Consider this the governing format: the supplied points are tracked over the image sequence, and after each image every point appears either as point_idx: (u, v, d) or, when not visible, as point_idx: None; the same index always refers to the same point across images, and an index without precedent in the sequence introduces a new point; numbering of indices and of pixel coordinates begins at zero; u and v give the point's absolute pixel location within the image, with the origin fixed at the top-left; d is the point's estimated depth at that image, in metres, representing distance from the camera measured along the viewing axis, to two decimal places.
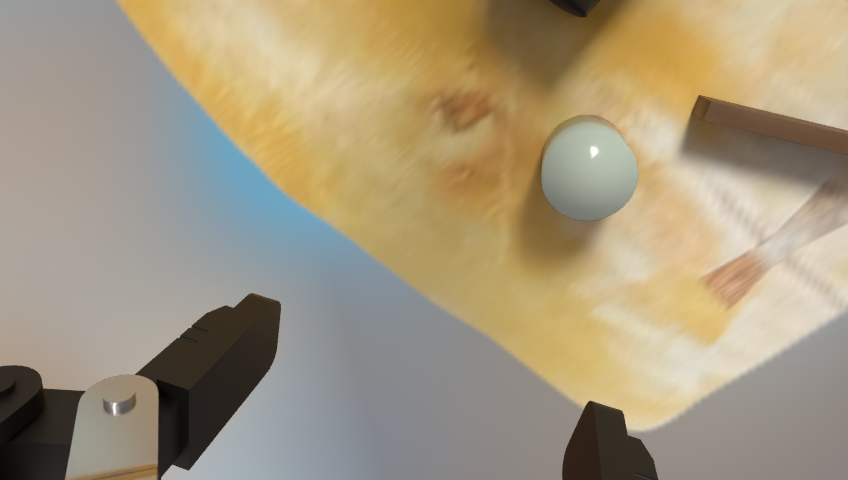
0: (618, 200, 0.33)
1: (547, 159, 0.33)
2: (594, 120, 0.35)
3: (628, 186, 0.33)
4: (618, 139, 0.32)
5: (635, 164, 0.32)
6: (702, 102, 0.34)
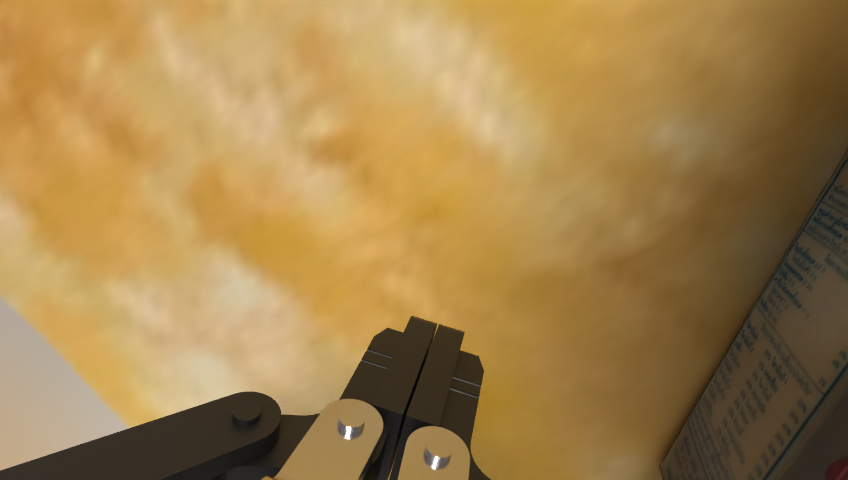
0: None
1: None
2: None
3: None
4: None
5: None
6: None
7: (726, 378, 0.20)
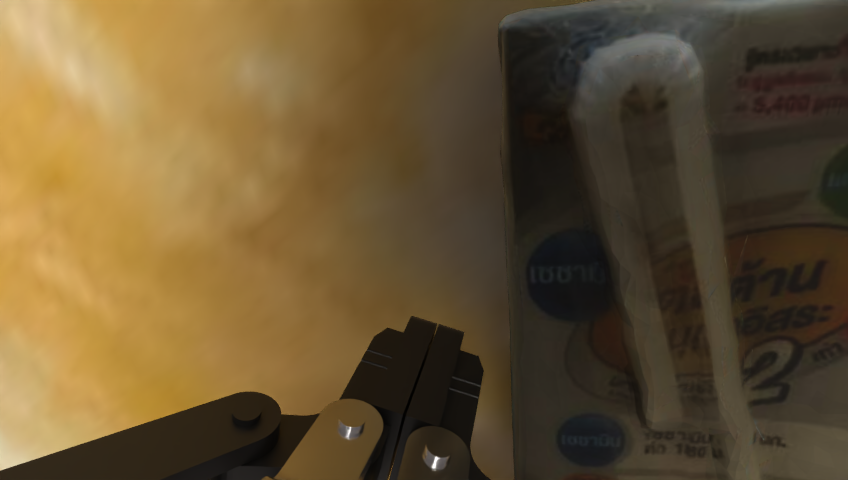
0: None
1: None
2: None
3: None
4: None
5: None
6: None
7: None
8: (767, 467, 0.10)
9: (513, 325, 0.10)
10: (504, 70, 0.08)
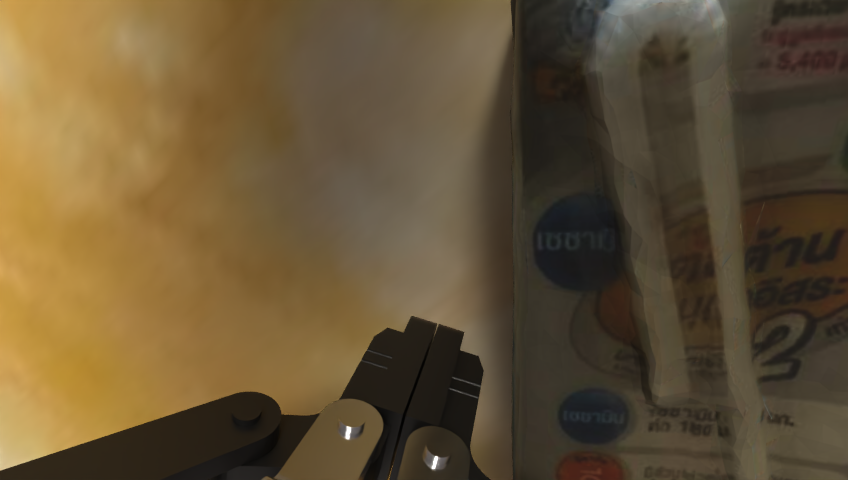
0: None
1: None
2: None
3: None
4: None
5: None
6: None
7: None
8: (774, 447, 0.10)
9: (517, 295, 0.10)
10: (517, 22, 0.08)
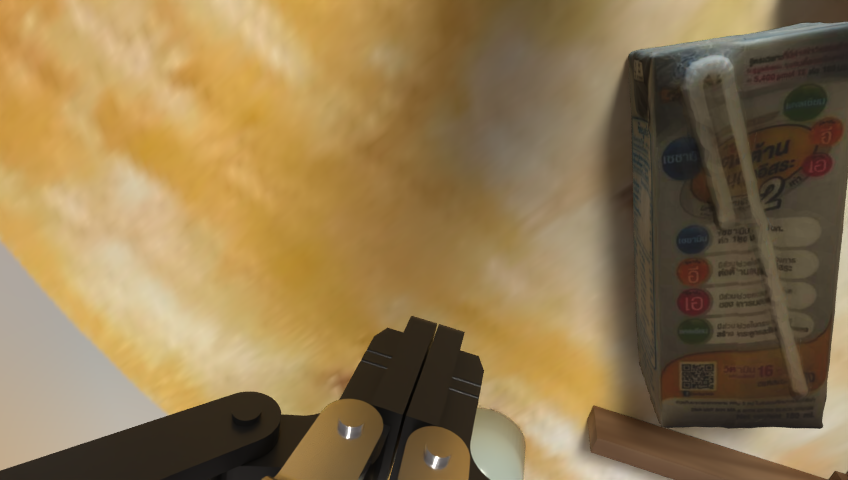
0: None
1: None
2: (485, 430, 0.34)
3: None
4: None
5: None
6: (593, 424, 0.33)
7: (636, 279, 0.29)
8: (776, 242, 0.22)
9: (654, 186, 0.22)
10: (652, 73, 0.21)
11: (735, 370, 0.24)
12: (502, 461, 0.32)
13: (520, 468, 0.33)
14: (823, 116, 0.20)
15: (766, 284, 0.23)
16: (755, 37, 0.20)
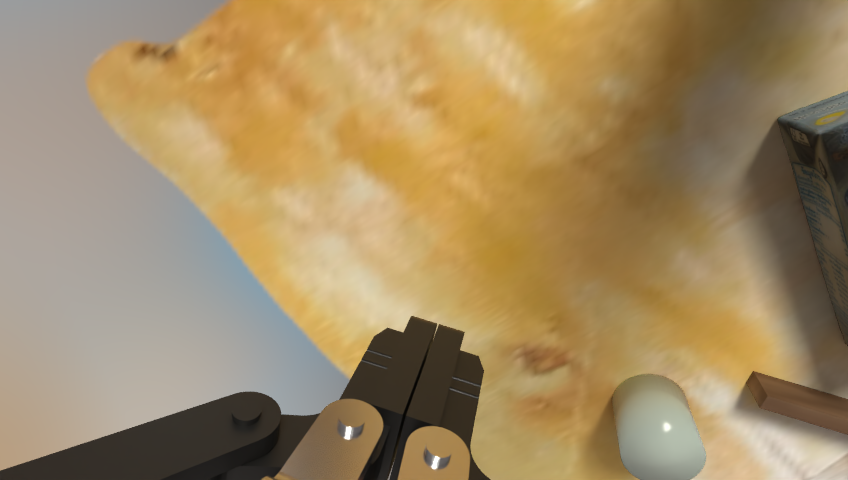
0: (687, 474, 0.39)
1: (627, 439, 0.39)
2: (663, 391, 0.41)
3: (696, 465, 0.38)
4: (690, 433, 0.37)
5: (703, 451, 0.38)
6: (758, 386, 0.40)
7: (829, 280, 0.36)
8: None
9: (843, 218, 0.30)
10: (822, 144, 0.29)
11: None
12: (685, 416, 0.39)
13: (694, 422, 0.40)
14: None
15: None
16: None
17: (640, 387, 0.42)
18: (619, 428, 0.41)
